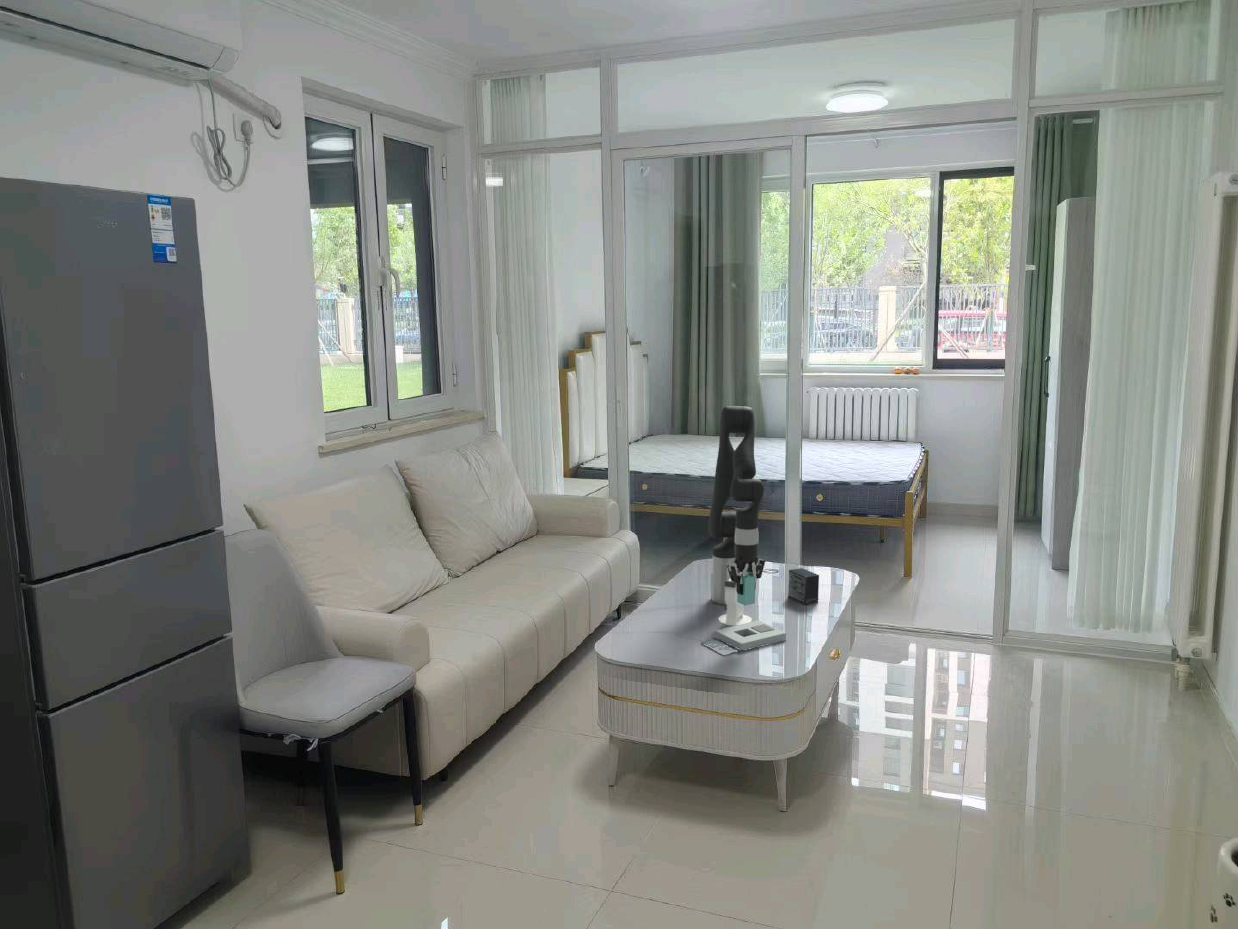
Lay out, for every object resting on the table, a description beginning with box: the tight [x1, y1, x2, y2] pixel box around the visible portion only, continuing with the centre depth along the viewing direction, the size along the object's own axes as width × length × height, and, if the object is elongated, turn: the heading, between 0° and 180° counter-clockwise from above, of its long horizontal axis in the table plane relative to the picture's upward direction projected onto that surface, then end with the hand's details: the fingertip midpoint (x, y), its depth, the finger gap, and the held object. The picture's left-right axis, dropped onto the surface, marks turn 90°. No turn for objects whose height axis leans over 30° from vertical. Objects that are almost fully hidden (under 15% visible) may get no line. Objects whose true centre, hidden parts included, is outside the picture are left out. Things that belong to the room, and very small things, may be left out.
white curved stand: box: [718, 578, 753, 627], centre depth 318 cm, size 12×11×15 cm
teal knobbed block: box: [737, 573, 756, 606], centre depth 298 cm, size 4×4×10 cm
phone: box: [700, 638, 736, 650], centre depth 294 cm, size 6×12×1 cm, turn 30°
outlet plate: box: [714, 620, 787, 651], centre depth 301 cm, size 14×18×3 cm
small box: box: [787, 567, 820, 606], centre depth 339 cm, size 11×6×10 cm, turn 25°
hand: (745, 592), depth 298 cm, fingers closed on teal knobbed block, 4 cm apart
